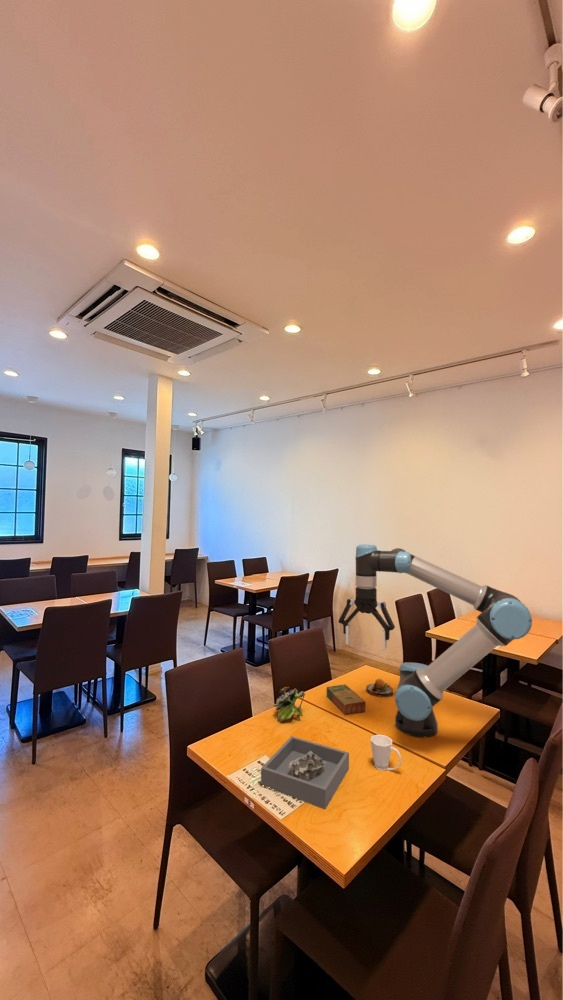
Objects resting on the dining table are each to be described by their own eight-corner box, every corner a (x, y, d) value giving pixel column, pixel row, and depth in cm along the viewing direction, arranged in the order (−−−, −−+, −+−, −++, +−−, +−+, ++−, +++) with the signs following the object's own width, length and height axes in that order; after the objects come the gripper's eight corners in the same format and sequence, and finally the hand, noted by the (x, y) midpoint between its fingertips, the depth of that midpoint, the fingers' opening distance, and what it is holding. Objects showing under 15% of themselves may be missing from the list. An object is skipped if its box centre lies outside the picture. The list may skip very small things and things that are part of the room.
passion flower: (283, 727, 164) (290, 692, 172) (308, 731, 157) (315, 694, 165) (264, 718, 157) (273, 681, 165) (290, 721, 150) (297, 683, 158)
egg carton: (303, 786, 117) (303, 772, 117) (286, 774, 123) (286, 760, 123) (327, 772, 124) (327, 758, 124) (310, 760, 129) (311, 748, 130)
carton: (344, 716, 162) (344, 704, 162) (325, 697, 179) (325, 685, 179) (366, 713, 165) (365, 700, 165) (345, 694, 182) (345, 683, 182)
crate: (349, 769, 127) (349, 752, 127) (325, 809, 109) (325, 789, 110) (291, 751, 136) (291, 736, 137) (260, 785, 119) (261, 768, 119)
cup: (376, 757, 134) (376, 731, 134) (405, 769, 127) (405, 743, 128) (365, 766, 128) (366, 740, 129) (395, 780, 122) (395, 752, 122)
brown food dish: (395, 689, 188) (395, 673, 188) (391, 699, 177) (391, 682, 177) (369, 685, 193) (369, 668, 193) (363, 694, 182) (363, 677, 182)
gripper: (403, 588, 147) (403, 648, 146) (337, 582, 158) (336, 638, 158) (398, 591, 140) (398, 654, 139) (330, 585, 152) (329, 643, 151)
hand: (365, 646), depth 148 cm, fingers open, 13 cm apart
